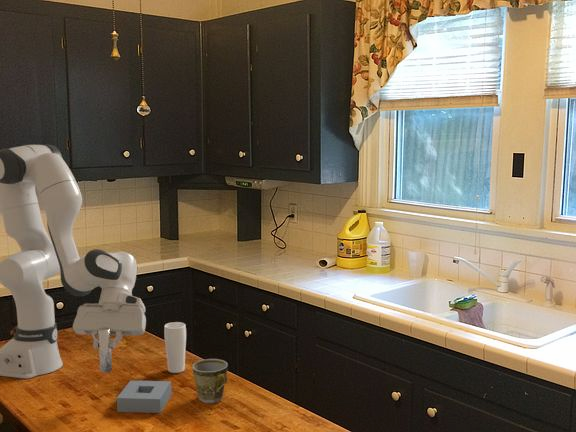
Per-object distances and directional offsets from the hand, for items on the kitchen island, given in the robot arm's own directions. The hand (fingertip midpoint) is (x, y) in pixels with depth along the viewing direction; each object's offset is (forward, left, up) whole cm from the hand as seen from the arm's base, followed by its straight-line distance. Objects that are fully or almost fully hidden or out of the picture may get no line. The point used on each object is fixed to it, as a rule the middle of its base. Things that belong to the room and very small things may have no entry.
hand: (104, 347), depth 180 cm
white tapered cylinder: (+14, +25, -16) cm, 33 cm away
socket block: (+11, +1, -16) cm, 19 cm away
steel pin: (0, +1, -7) cm, 7 cm away
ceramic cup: (+30, +4, -16) cm, 34 cm away
